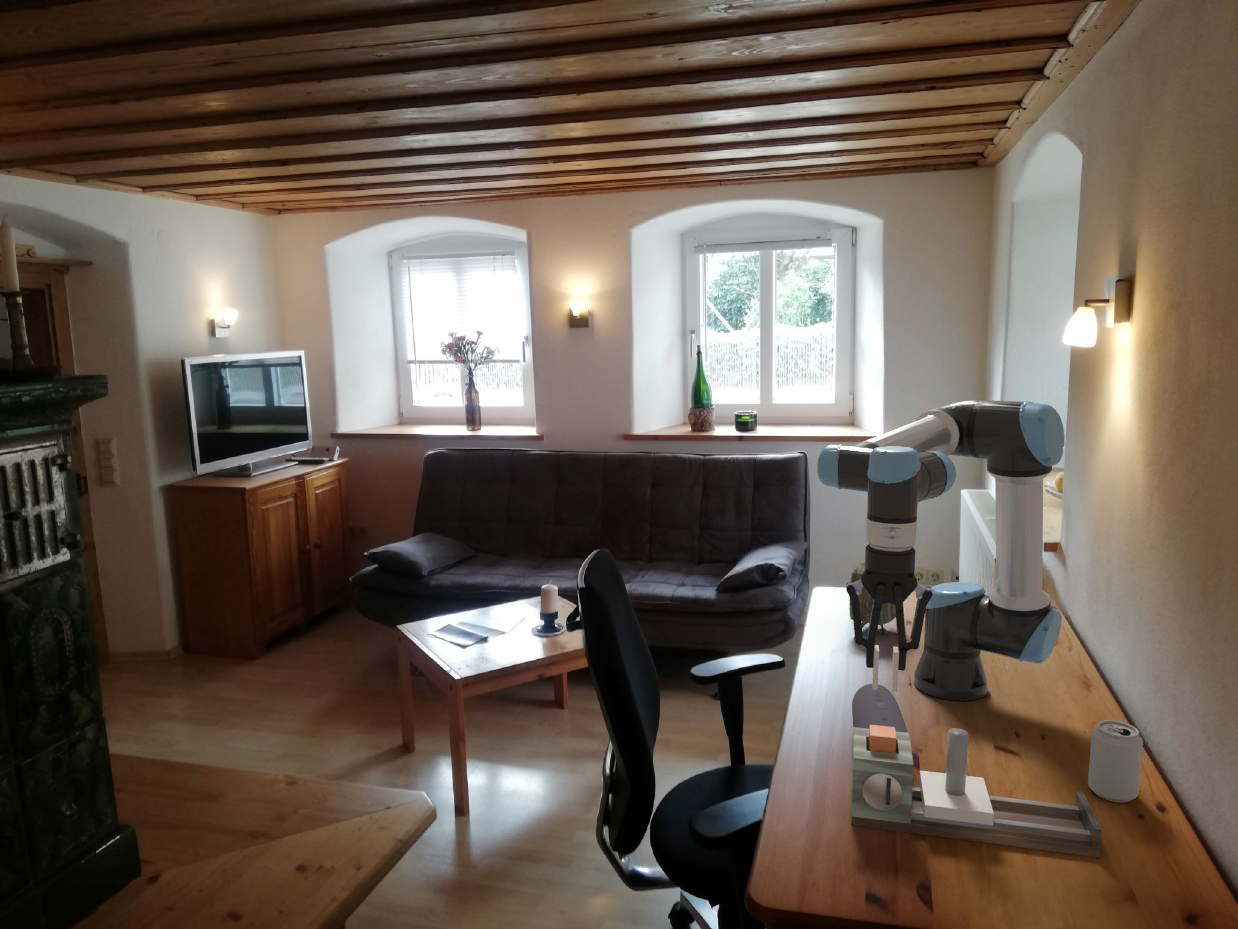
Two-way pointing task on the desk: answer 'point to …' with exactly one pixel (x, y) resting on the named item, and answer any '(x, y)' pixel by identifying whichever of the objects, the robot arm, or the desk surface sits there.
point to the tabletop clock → (870, 603)
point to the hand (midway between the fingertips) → (884, 687)
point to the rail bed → (1021, 823)
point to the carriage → (956, 787)
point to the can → (1115, 761)
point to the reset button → (882, 739)
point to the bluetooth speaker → (876, 709)
